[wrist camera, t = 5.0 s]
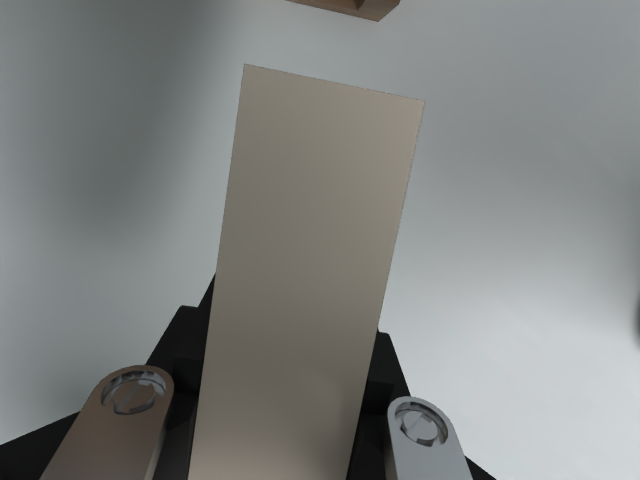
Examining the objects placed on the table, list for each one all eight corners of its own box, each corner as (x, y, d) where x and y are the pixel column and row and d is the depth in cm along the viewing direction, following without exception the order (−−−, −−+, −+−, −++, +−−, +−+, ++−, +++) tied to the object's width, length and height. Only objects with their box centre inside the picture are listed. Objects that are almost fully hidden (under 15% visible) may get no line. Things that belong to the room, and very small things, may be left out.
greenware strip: (360, 140, 12) (425, 100, 6) (300, 461, 14) (305, 674, 8) (269, 122, 12) (243, 63, 6) (220, 453, 13) (162, 668, 8)
